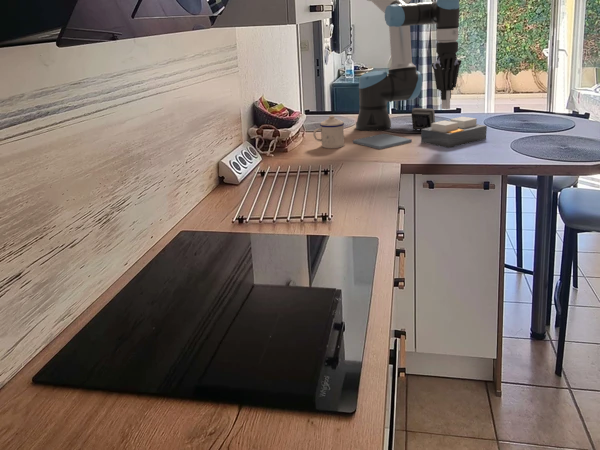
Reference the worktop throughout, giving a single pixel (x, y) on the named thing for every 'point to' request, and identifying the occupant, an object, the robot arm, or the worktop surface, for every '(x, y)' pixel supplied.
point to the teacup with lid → (331, 133)
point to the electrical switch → (422, 118)
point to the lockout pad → (382, 141)
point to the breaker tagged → (444, 126)
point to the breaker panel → (454, 136)
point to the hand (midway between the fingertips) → (445, 108)
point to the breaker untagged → (464, 122)
